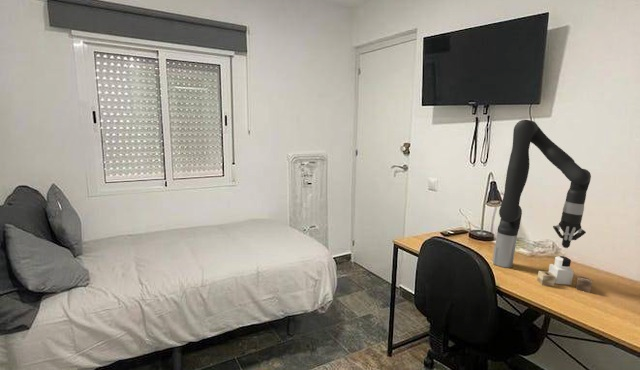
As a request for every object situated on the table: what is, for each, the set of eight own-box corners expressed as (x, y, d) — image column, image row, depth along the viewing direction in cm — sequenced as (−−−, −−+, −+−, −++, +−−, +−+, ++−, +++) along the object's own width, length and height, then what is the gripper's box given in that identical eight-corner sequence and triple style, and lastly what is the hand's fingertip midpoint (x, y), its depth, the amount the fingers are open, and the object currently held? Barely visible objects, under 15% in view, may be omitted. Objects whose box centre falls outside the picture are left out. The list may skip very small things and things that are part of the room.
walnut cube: (576, 289, 153) (578, 279, 152) (575, 285, 157) (577, 275, 156) (589, 293, 150) (592, 282, 150) (589, 289, 154) (591, 278, 154)
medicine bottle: (562, 278, 164) (566, 255, 162) (571, 285, 157) (576, 261, 155) (547, 277, 165) (551, 254, 163) (555, 283, 158) (559, 259, 156)
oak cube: (541, 285, 156) (543, 275, 155) (537, 280, 161) (538, 270, 160) (553, 286, 155) (555, 276, 154) (548, 281, 160) (550, 271, 159)
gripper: (558, 211, 154) (550, 247, 157) (593, 216, 149) (585, 252, 152) (553, 207, 161) (546, 242, 164) (587, 212, 156) (579, 247, 159)
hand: (565, 247), depth 158 cm, fingers closed
